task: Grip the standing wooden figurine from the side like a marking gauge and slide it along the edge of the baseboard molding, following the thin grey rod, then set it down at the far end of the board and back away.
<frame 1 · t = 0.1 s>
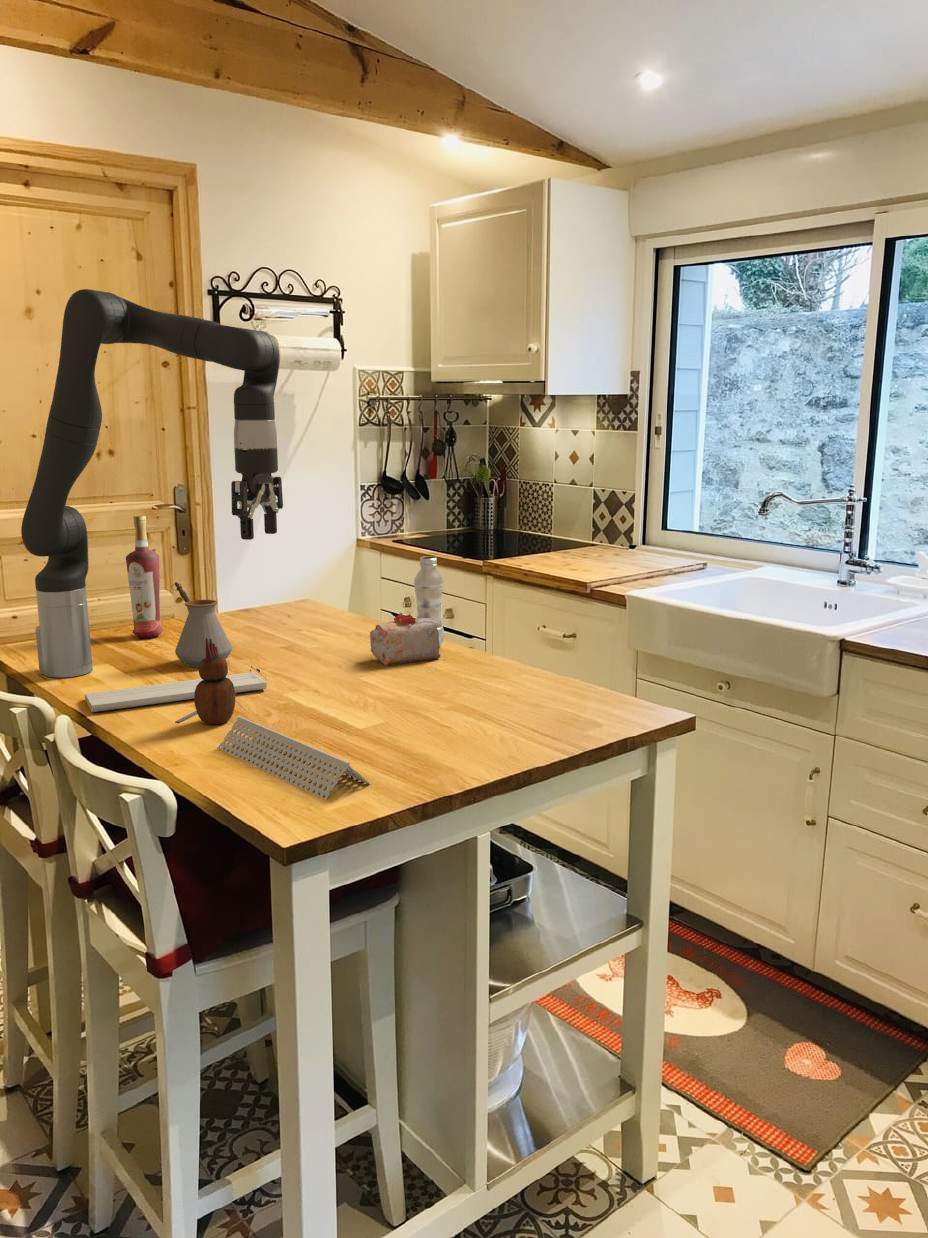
hand: (259, 536, 181), 29 cm above the table, tool pointing down, fingers open, 8 cm apart
thin grey rod: (208, 706, 178), on the table
corner bead: (291, 770, 149), on the table
liquor: (148, 637, 232), on the table
wooden figurine: (216, 722, 169), on the table
coffee pot: (196, 659, 212), on the table
plastic bottle: (429, 647, 221), on the table
baseboard molding: (176, 695, 185), on the table, touching thin grey rod
food item: (405, 661, 210), on the table
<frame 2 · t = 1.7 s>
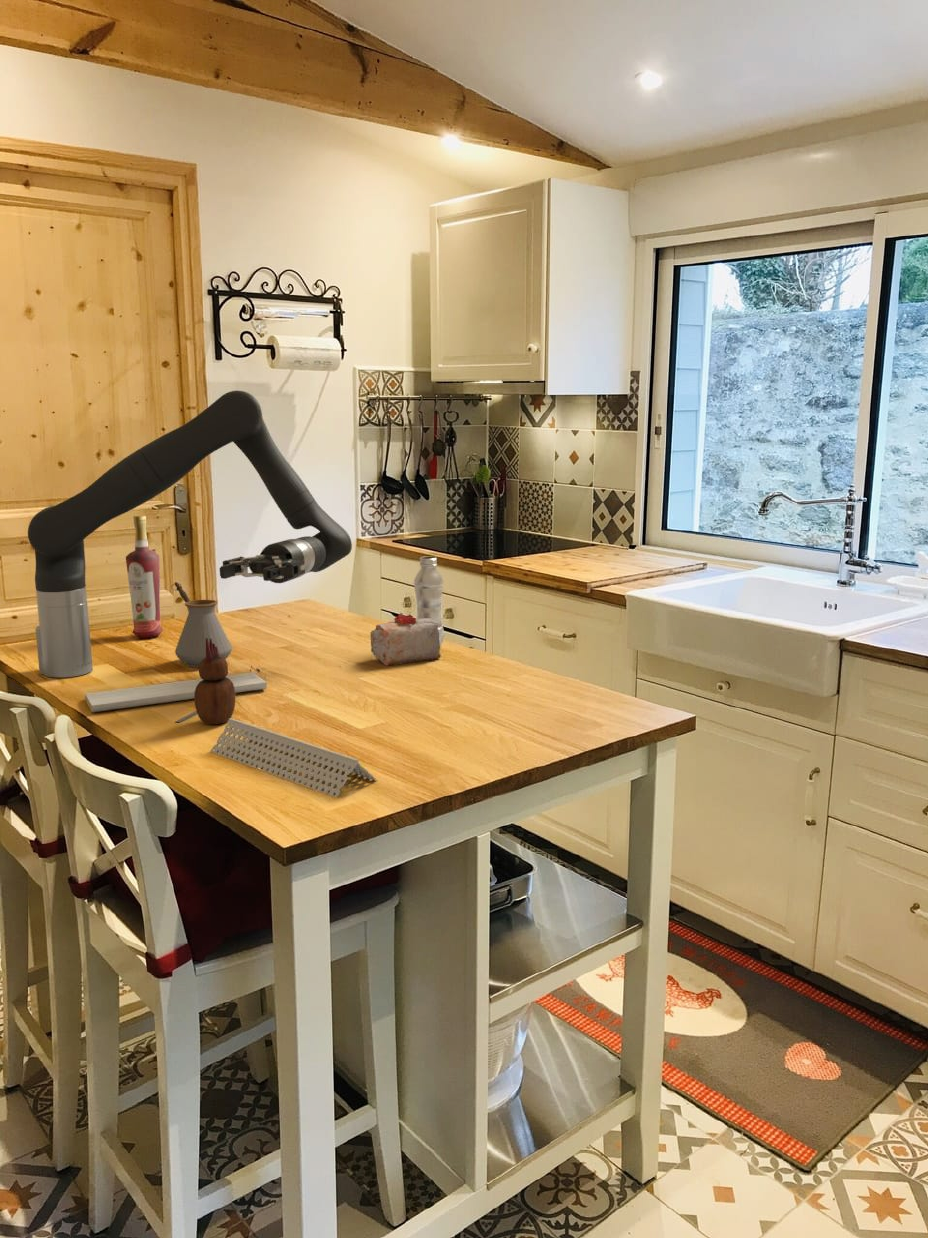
hand: (243, 573, 174), 24 cm above the table, tool horizontal, fingers open, 8 cm apart
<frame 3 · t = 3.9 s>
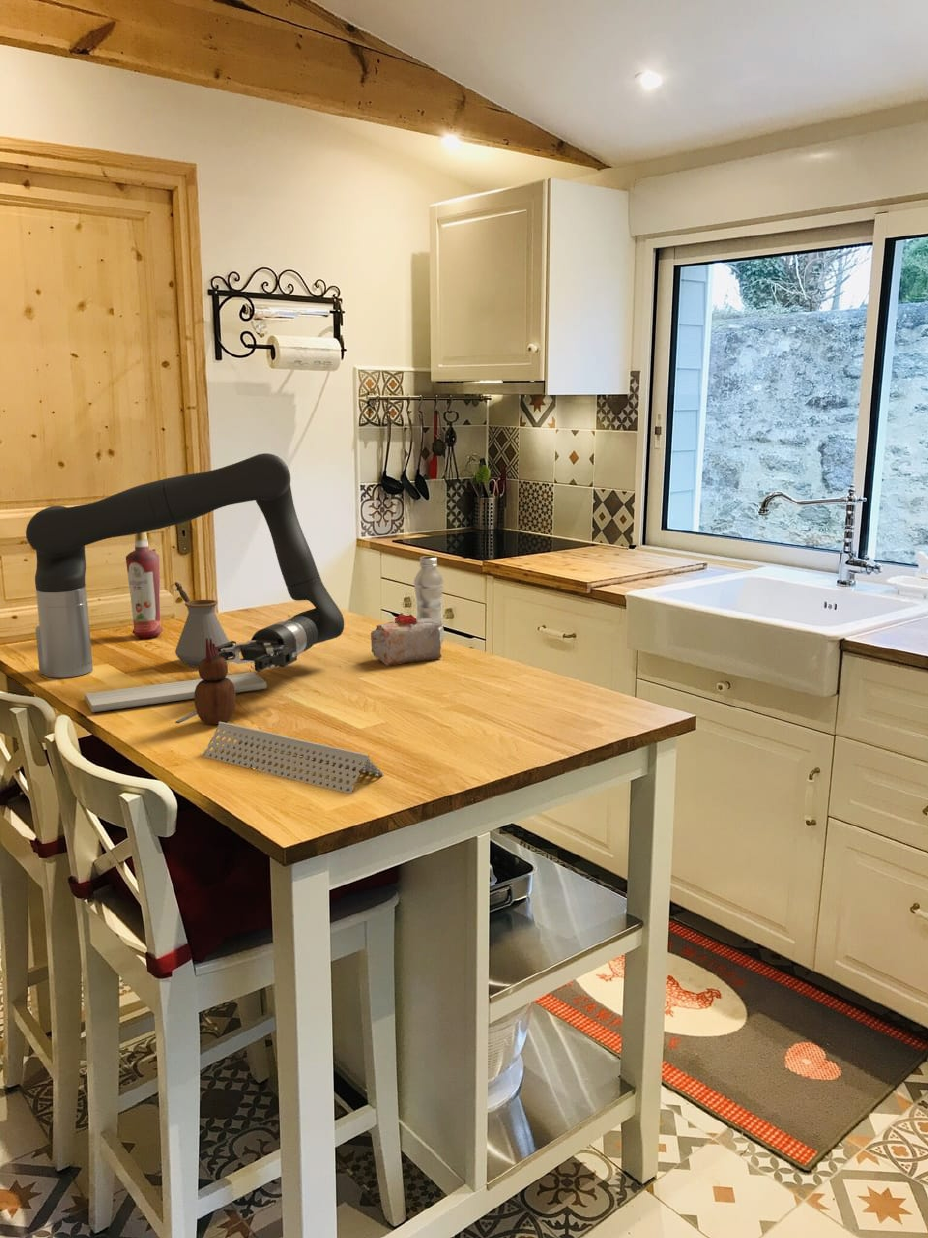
hand: (234, 663, 174), 8 cm above the table, tool horizontal, fingers open, 8 cm apart
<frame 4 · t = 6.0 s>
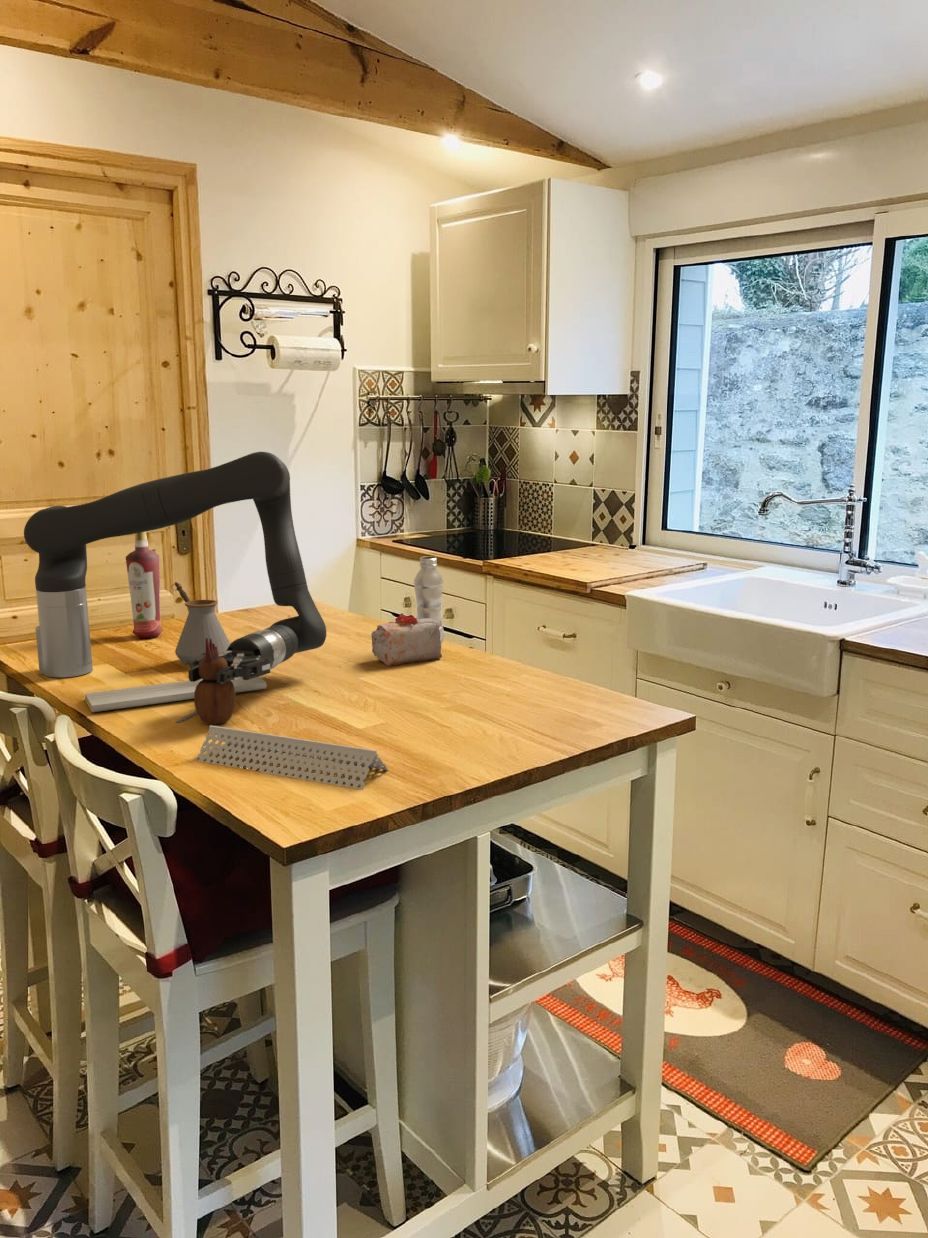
hand: (204, 677, 165), 9 cm above the table, tool horizontal, fingers closed on wooden figurine, 4 cm apart
wooden figurine: (216, 722, 169), on the table, touching gripper
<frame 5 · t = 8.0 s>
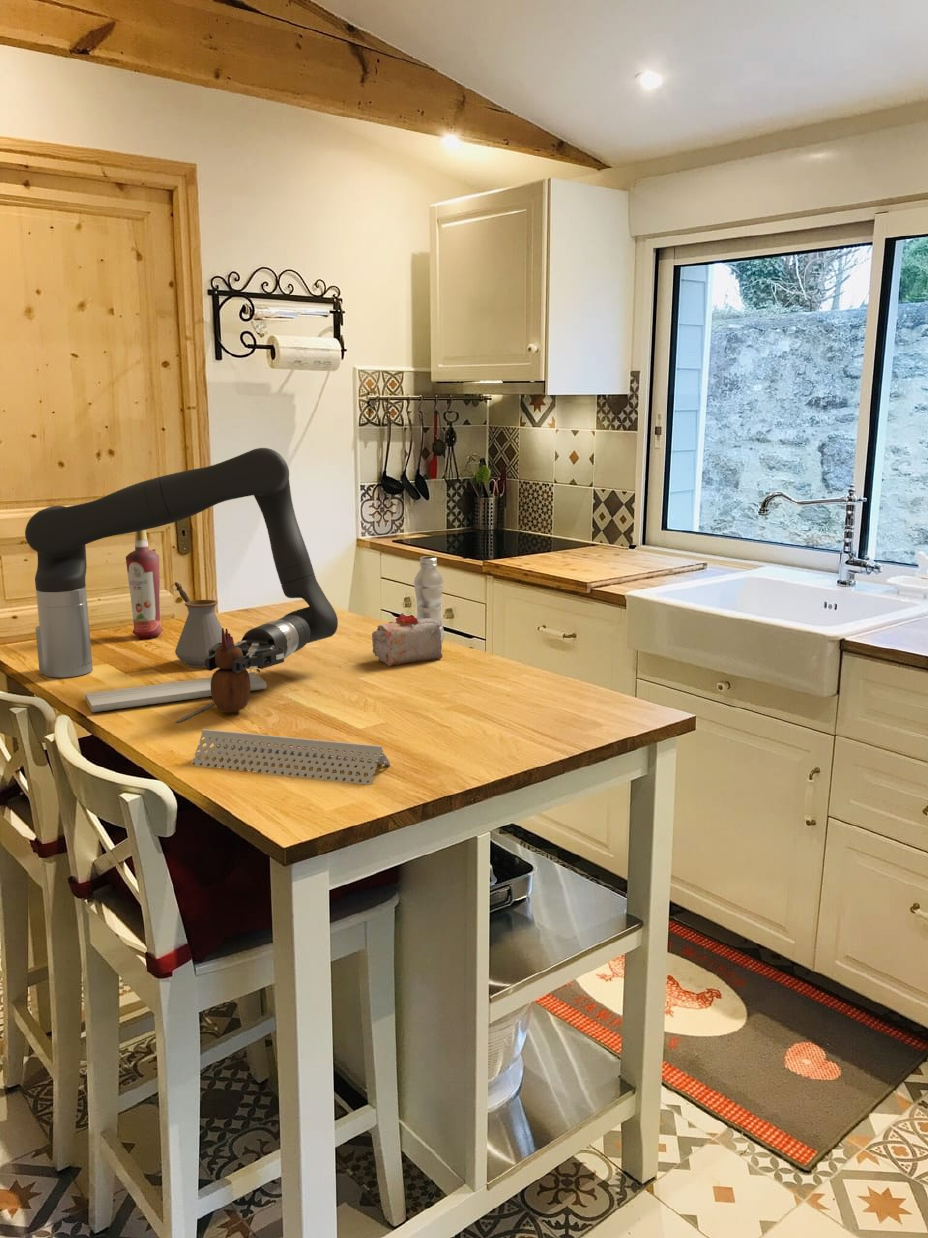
hand: (221, 666, 170), 9 cm above the table, tool horizontal, fingers closed on wooden figurine, 4 cm apart
wooden figurine: (232, 710, 174), on the table, touching gripper
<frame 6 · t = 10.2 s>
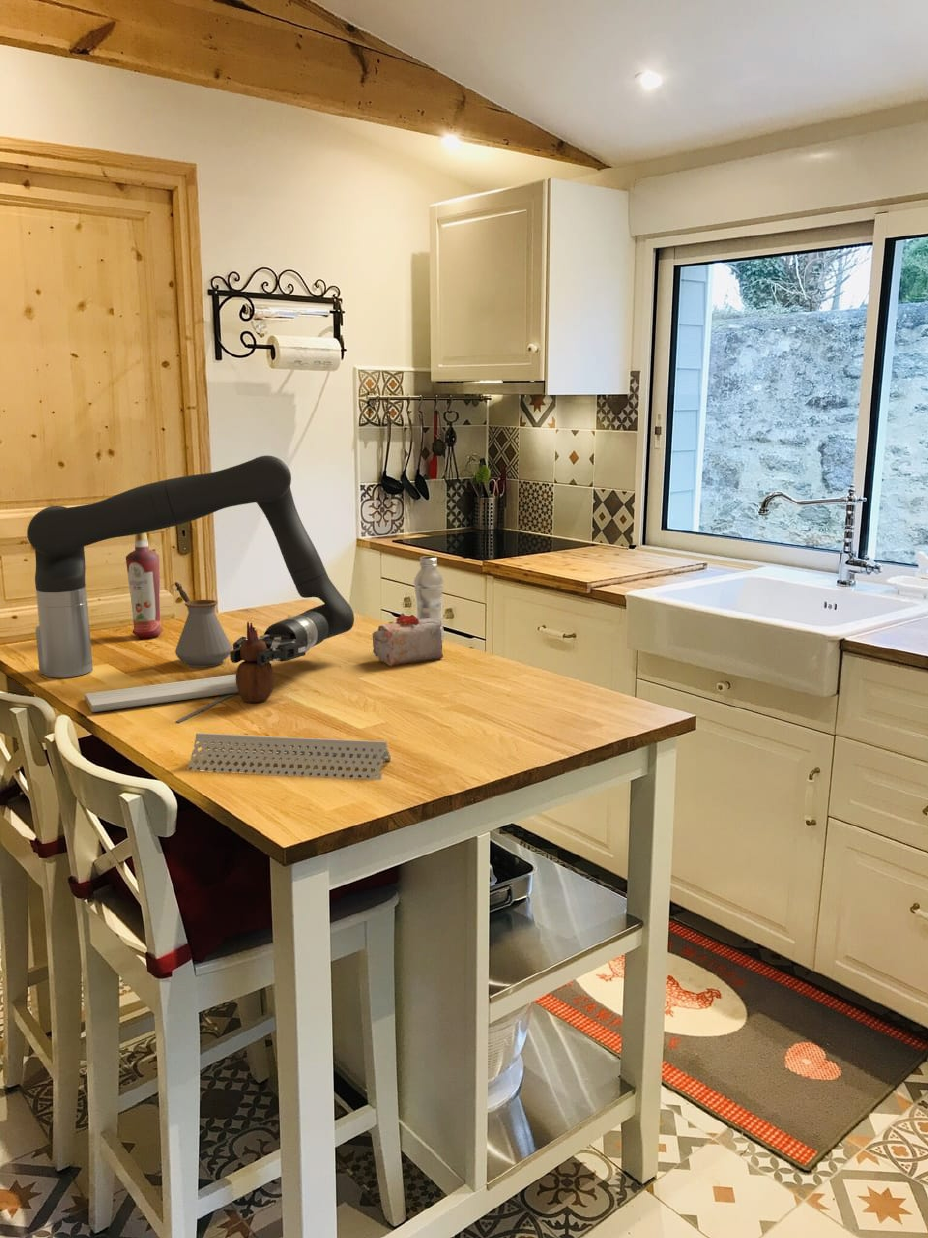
hand: (246, 658, 177), 9 cm above the table, tool horizontal, fingers closed on wooden figurine, 4 cm apart
wooden figurine: (256, 701, 181), on the table, touching gripper
when the fingers open (9 cm above the table, at t = 10.2 s): wooden figurine stays where it is, on the table.
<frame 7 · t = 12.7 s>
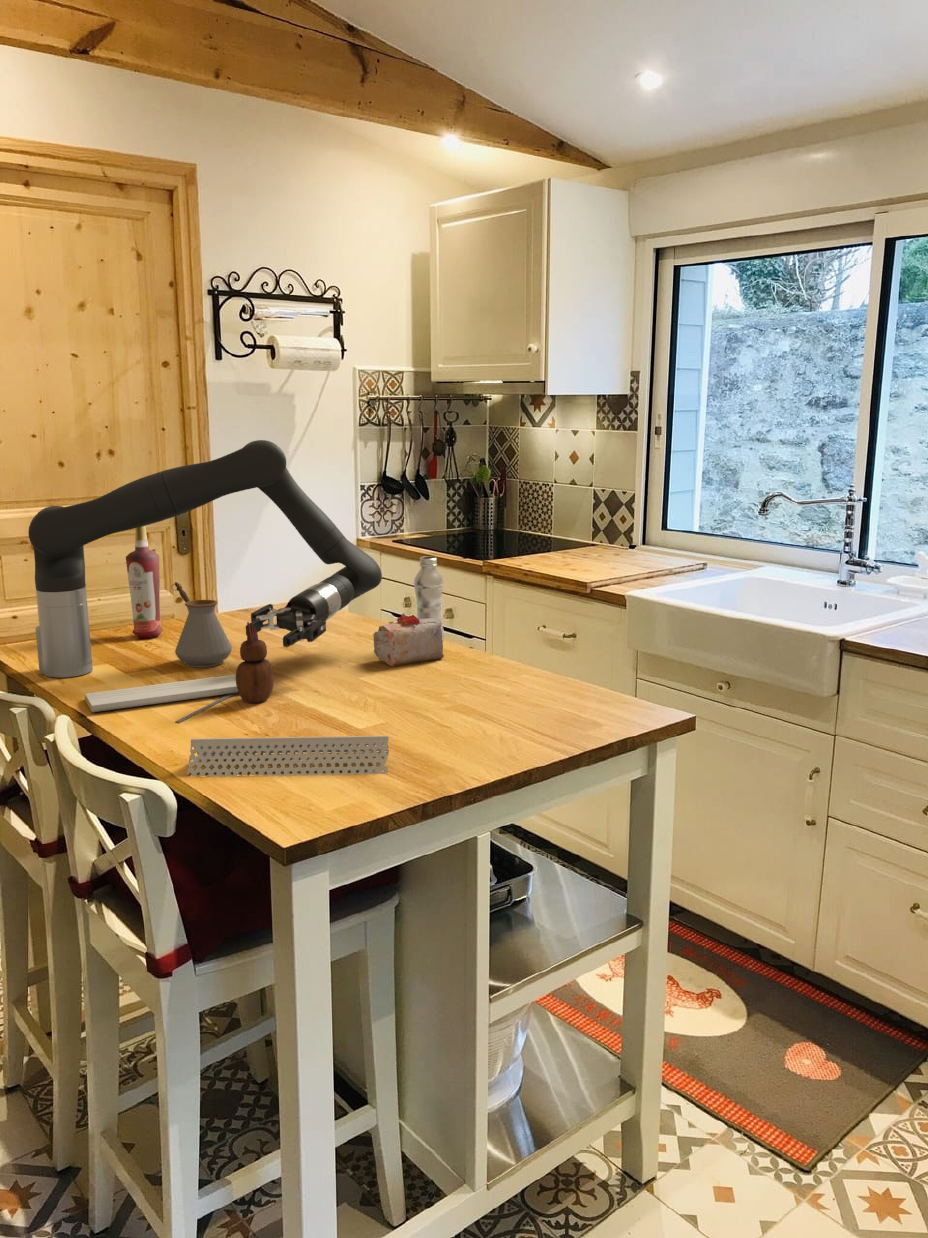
hand: (265, 637, 188), 10 cm above the table, tool horizontal, fingers open, 8 cm apart
wooden figurine: (256, 701, 181), on the table
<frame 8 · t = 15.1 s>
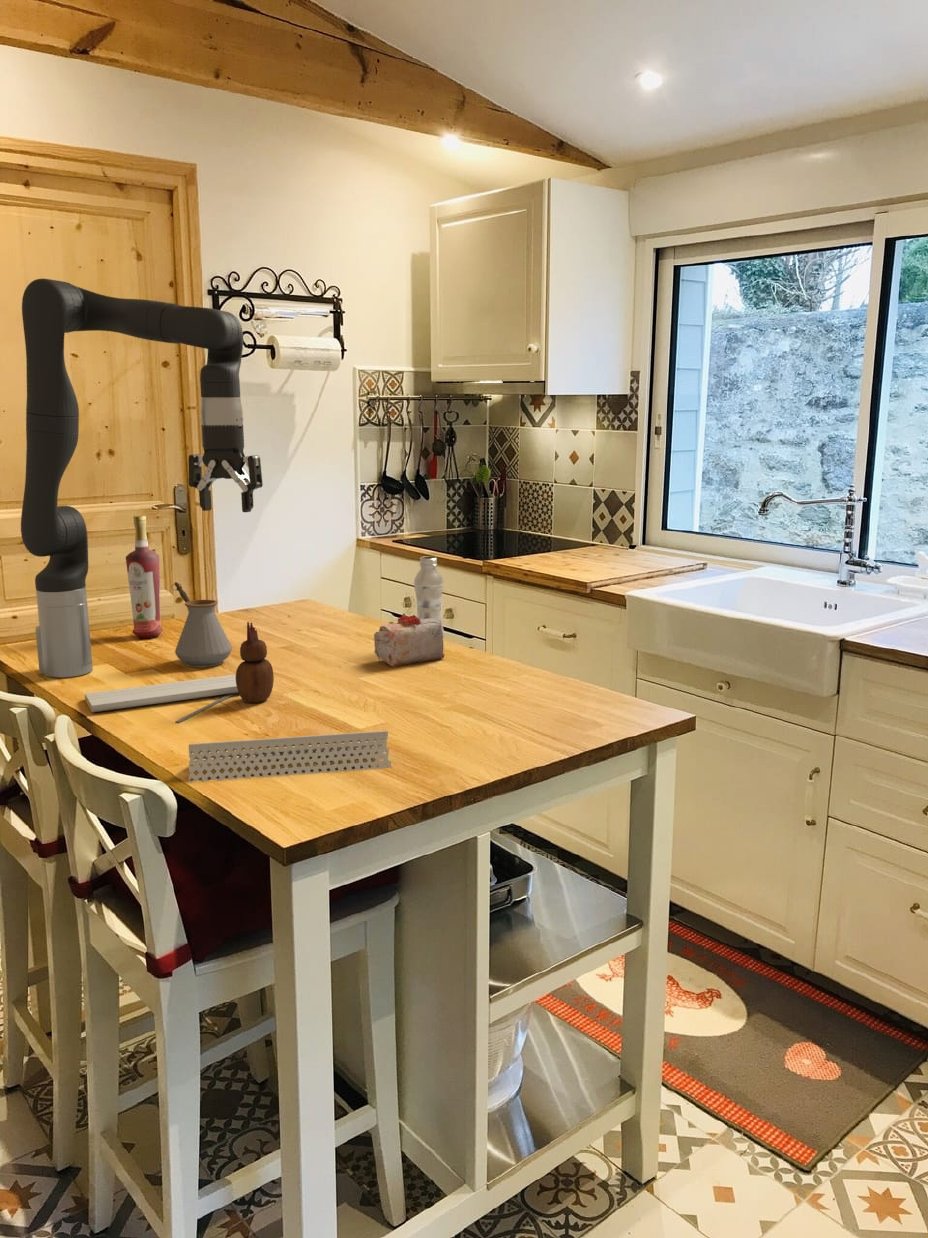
hand: (226, 511, 187), 33 cm above the table, tool pointing down, fingers open, 8 cm apart
at the end: wooden figurine inside the target area (0.1 cm from its centre), on the table; wooden figurine tilted 0°; baseboard molding moved 0.1 cm from its start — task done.
